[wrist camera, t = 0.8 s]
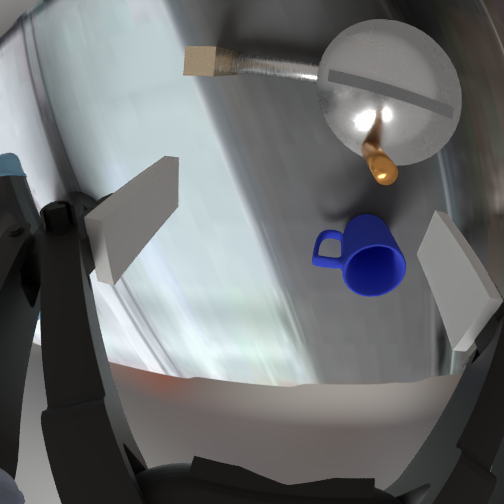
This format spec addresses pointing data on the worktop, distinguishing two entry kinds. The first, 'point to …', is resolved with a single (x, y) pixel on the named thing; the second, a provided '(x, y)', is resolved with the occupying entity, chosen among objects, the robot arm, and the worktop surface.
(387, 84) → the handwheel
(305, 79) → the hook rod
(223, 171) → the worktop surface
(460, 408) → the robot arm
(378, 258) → the mug
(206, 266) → the worktop surface
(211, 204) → the worktop surface
